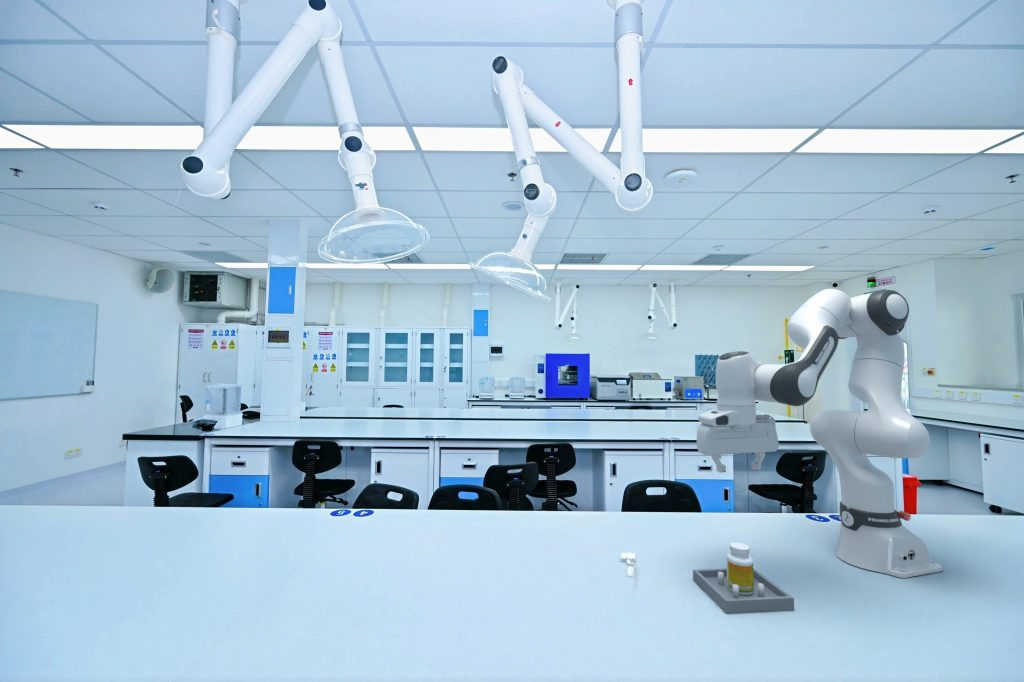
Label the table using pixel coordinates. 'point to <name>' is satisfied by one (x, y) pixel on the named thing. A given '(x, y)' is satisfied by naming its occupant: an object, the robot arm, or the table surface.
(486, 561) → the table surface
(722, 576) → the pin tray
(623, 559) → the syringe
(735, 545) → the supplement bottle
